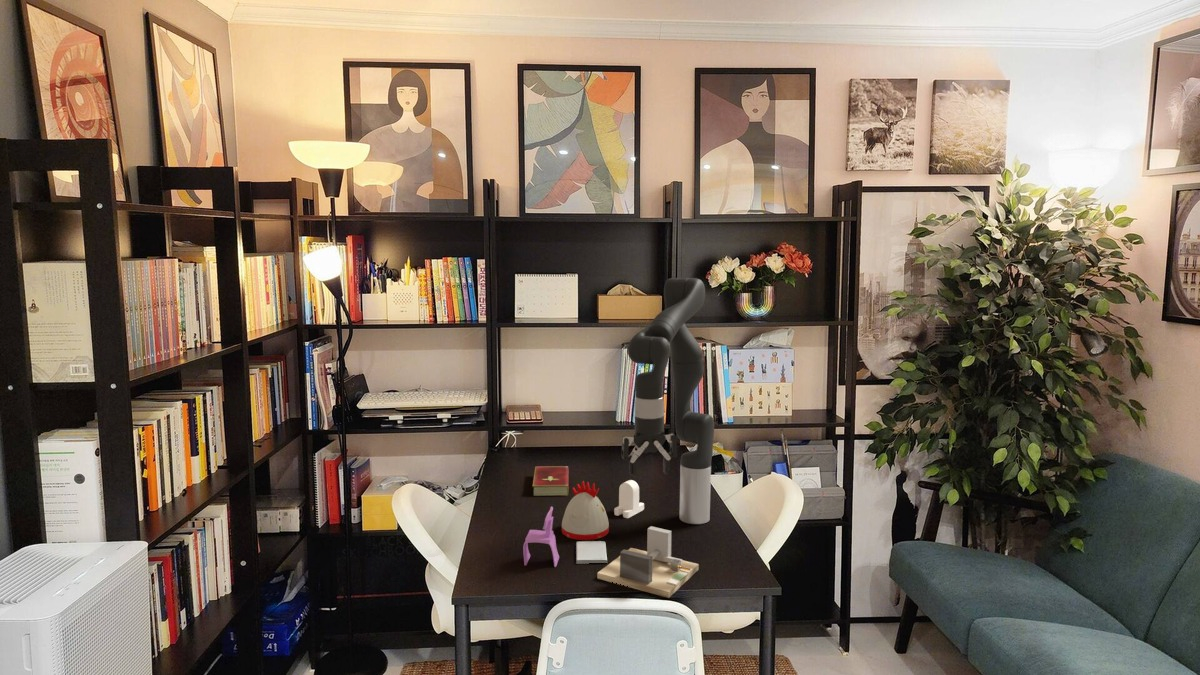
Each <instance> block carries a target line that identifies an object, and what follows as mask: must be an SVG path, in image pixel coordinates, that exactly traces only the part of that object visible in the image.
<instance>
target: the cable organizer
mask: <svg viewBox="0 0 1200 675" xmlns="http://www.w3.org/2000/svg"><path fill="white" fill-rule="evenodd" d="M618 487H619V488H618V489H619V490H618V506H616V507H614V510H613V512H614V516H618V517H619V516H621V515H622V517H623V518H624V519H629V518H631V517H633V516H635V515H636V514H637V515H638V514H639V513H640V512H643V511H644V510H645V503H644V502H640V486H639V484H638V483H637V482H636V481H635V480H633V479H629V480H626V481H625V482H622V483H621V484H620V485H619V486H618Z"/></svg>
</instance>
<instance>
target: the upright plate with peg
mask: <svg viewBox="0 0 1200 675" xmlns="http://www.w3.org/2000/svg"><path fill="white" fill-rule="evenodd" d="M646 534H647V535H646V536H647V539H646V540H647V541H646V543H647V546H646V548H647V549H646V552H647V555H649V556H653V559H652V560H654V559H655V560H659V561H663V562H667V563H668V562H669V563H671V561H672V560H673V559H677V560H681V565H682V564H683V561H684V560H683V559H682V558H677V557H673V556H672V530H669V529H664V528H660V527H656V526H652V525H651V526H649V527H648V528H647V533H646Z"/></svg>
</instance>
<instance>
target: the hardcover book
mask: <svg viewBox="0 0 1200 675" xmlns="http://www.w3.org/2000/svg"><path fill="white" fill-rule="evenodd" d="M569 474H570V473H569V466H564V465H563V466H562V465H559V466H556V465H555V466H554V465H552V466H549V465H547V466H543V465H542V466H534V472H533V478H532V479H533V480H532V486H531V488H533V496H542V497H543V496H566V497H567V496H569V482H570V481H569V480H570V478H569V476H570V475H569Z"/></svg>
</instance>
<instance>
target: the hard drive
mask: <svg viewBox="0 0 1200 675" xmlns="http://www.w3.org/2000/svg"><path fill="white" fill-rule="evenodd" d="M575 546H576V547H575V550H576V551H575V554H576V558H575V559H576V560H575V561H576V562H575V563H576V564H577V565H590V564H589V563H607V564H608V557H607V546H606V541H601V540H598V541H594V540H592V541H591V540H581V541H576V544H575Z"/></svg>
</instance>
